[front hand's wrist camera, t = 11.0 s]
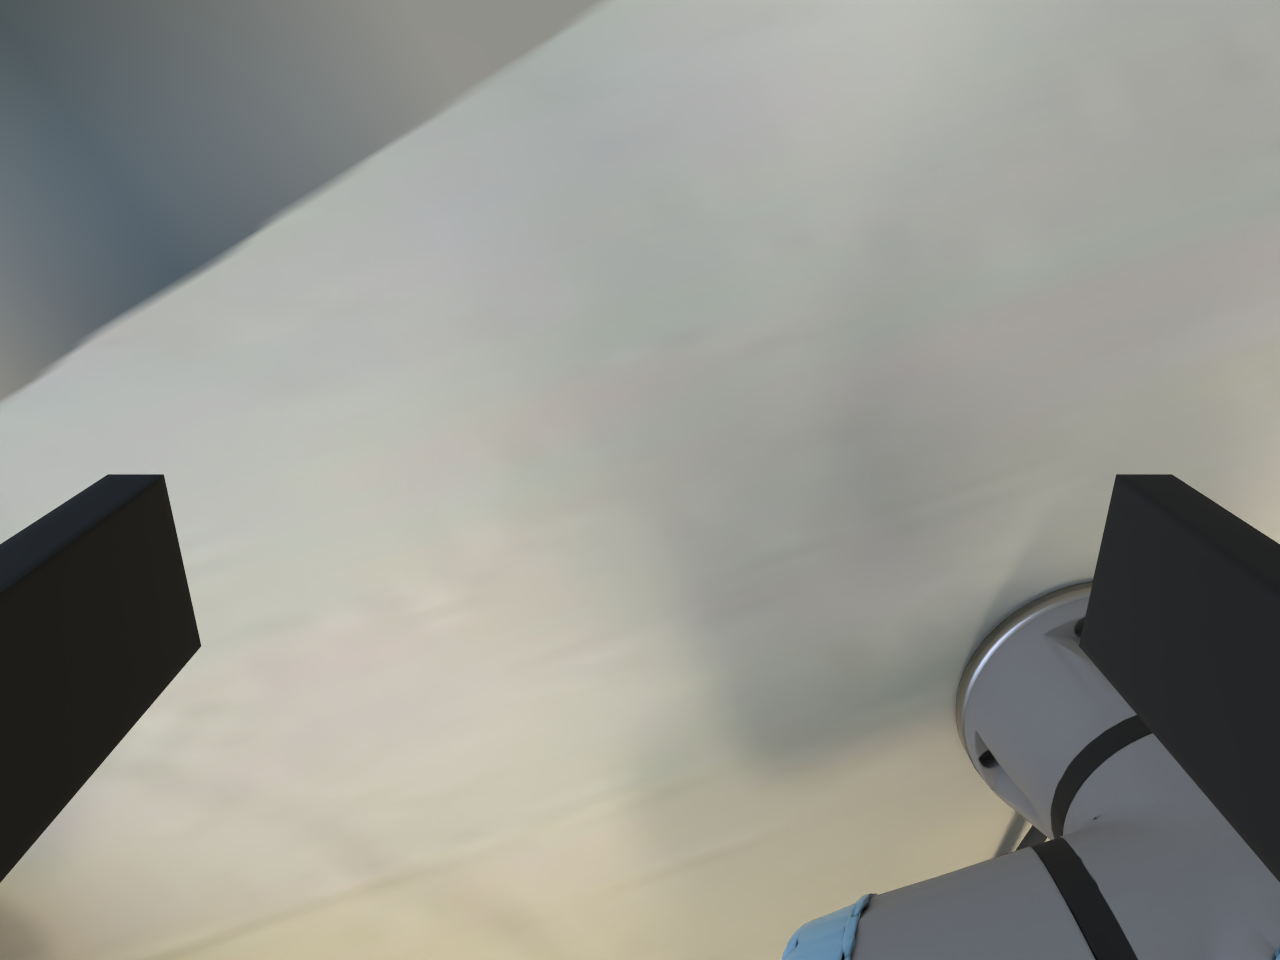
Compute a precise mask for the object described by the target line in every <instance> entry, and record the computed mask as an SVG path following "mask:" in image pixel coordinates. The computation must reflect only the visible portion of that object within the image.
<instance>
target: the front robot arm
mask: <svg viewBox="0 0 1280 960" xmlns="http://www.w3.org/2000/svg"><path fill="white" fill-rule="evenodd" d="M200 647H201V643H200V638H199V634H198V629H197V625H196V620H195V615H194V611H193V606H192V602H191V597H190V593H189V588H188V584H187V579H186V574H185V570H184V565H183V561H182V556H181V552H180V547H179V542H178V538H177V533H176V529H175V524H174V520H173V515H172V510H171V506H170V501H169V497H168V492H167V488H166V483H165V478H164V475H107V476H105V477H104V478H102V479H100V480H99V481H97V482H96V483H94V484H93V485H91V486H90V487H88V488H87V489H85V490H84V491H82V492H80V493H79V494H77V495H76V496H74V497H73V498H71V499H70V500H68V501H67V502H65V503H64V504H62V505H60V506H59V507H57V508H56V509H54V510H53V511H51V512H50V513H48V514H47V515H45V516H43V517H42V518H40V519H39V520H37V521H36V522H34V523H33V524H31V525H30V526H28V527H27V528H25V529H23V530H22V531H20V532H19V533H17V534H16V535H14V536H13V537H11V538H10V539H8V540H6V541H5V542H3V543H2V544H0V882H1V881H2V880H3V879H4V878H5V876H6V875H7V874H8V873H9V872H10V871H11V869H12V868H13V867H14V866H15V865H16V863H17V862H18V861H19V860H20V859H21V858H22V856H23V855H24V854H25V853H26V852H27V851H28V849H29V848H30V847H31V846H32V845H33V843H34V842H35V841H36V840H37V839H38V838H39V836H40V835H41V834H42V833H43V832H44V831H45V829H46V828H47V827H48V826H49V825H50V823H51V822H52V821H53V820H54V819H55V818H56V816H57V815H58V814H59V813H60V812H61V811H62V809H63V808H64V807H65V806H66V805H67V803H68V802H69V801H70V800H71V799H72V798H73V796H74V795H75V794H76V793H77V792H78V791H79V789H80V788H81V787H82V786H83V785H84V783H85V782H86V781H87V780H88V779H89V778H90V776H91V775H92V774H93V773H94V772H95V770H96V769H97V768H98V767H99V766H100V765H101V763H102V762H103V761H104V760H105V759H106V758H107V756H108V755H109V754H110V753H111V752H112V750H113V749H114V748H115V747H116V746H117V745H118V743H119V742H120V741H121V740H122V739H123V738H124V736H125V735H126V734H127V733H128V732H129V730H130V729H131V728H132V727H133V726H134V725H135V723H136V722H137V721H138V720H139V719H140V718H141V716H142V715H143V714H144V713H145V712H146V710H147V709H148V708H149V707H150V706H151V705H152V703H153V702H154V701H155V700H156V699H157V698H158V696H159V695H160V694H161V693H162V692H163V690H164V689H165V688H166V687H167V686H168V685H169V683H170V682H171V681H172V680H173V679H174V677H175V676H176V675H177V674H178V673H179V672H180V670H181V669H182V668H183V667H184V666H185V665H186V663H187V662H188V661H189V660H190V659H191V657H192V656H193V655H194V654H195V653H196V652H197V650H198V649H199V648H200ZM956 722H957V728H958V732H959V736H960V739H961V741H962V744H963V746H964V748H965V750H966V752H967V754H968V756H969V758H970V760H971V761H972V763H973V765H974V767H975V769H976V770H977V772H978V773H979V774H980V776H981V777H982V778H983V779H984V781H985V782H986V783H987V784H988V786H989V787H990V788H991V789H992V790H993V791H994V792H995V793H996V795H998V796H999V797H1000V798H1001V799H1002V800H1003V801H1005V802H1006V803H1007V804H1008V805H1009V806H1011V807H1012V808H1013V809H1014V810H1015V811H1017V812H1018V813H1019V814H1020V815H1021V816H1023V817H1024V818H1025V819H1026V820H1027V821H1029V822H1030V823H1031V824H1032V827H1031V828H1030V830H1029V831H1028V833H1027V834H1026V836H1025V837H1024V839H1023V840H1022V842H1021V843H1020V845H1019V846H1018V848H1017V849H1016V851H1014V852H1011V853H1008V854H1005V855H1002V856H999V857H996V858H993V859H990V860H987V861H984V862H981V863H978V864H975V865H972V866H969V867H966V868H963V869H960V870H957V871H954V872H951V873H947V874H944V875H941V876H938V877H935V878H932V879H929V880H925V881H922V882H919V883H916V884H912V885H909V886H906V887H903V888H899V889H896V890H893V891H890V892H886V893H883V894H880V895H877V894H868V895H864V896H863V897H862V898H860V899H859V900H858V901H857V902H856V903H855V904H853V905H850V906H848V907H846V908H843V909H841V910H838V911H836V912H833V913H831V914H828V915H826V916H823V917H820V918H818V919H815V920H812V921H810V922H808V923H806V924H804V925H803V926H802V927H800V928H799V929H798V930H797V931H796V932H795V933H794V934H793V936H792V937H791V939H790V940H789V942H788V944H787V947H786V949H785V951H784V954H783V958H782V960H1280V544H1278V543H1277V542H1275V541H1274V540H1272V539H1270V538H1269V537H1267V536H1266V535H1264V534H1263V533H1261V532H1260V531H1258V530H1257V529H1255V528H1253V527H1252V526H1250V525H1249V524H1247V523H1246V522H1244V521H1243V520H1241V519H1240V518H1238V517H1237V516H1235V515H1233V514H1232V513H1230V512H1229V511H1227V510H1226V509H1224V508H1223V507H1221V506H1220V505H1218V504H1216V503H1215V502H1213V501H1212V500H1210V499H1209V498H1207V497H1206V496H1204V495H1203V494H1201V493H1200V492H1198V491H1196V490H1195V489H1193V488H1192V487H1190V486H1189V485H1187V484H1186V483H1184V482H1183V481H1181V480H1180V479H1178V478H1176V477H1175V476H1173V475H1116V478H1115V483H1114V488H1113V492H1112V497H1111V501H1110V506H1109V510H1108V515H1107V520H1106V524H1105V529H1104V533H1103V538H1102V542H1101V547H1100V552H1099V556H1098V561H1097V565H1096V570H1095V574H1094V579H1093V582H1089V583H1084V584H1079V585H1074V586H1071V587H1067V588H1064V589H1061V590H1058V591H1055V592H1052V593H1050V594H1047V595H1045V596H1043V597H1041V598H1039V599H1037V600H1035V601H1033V602H1031V603H1029V604H1027V605H1026V606H1024V607H1022V608H1021V609H1019V610H1018V611H1016V612H1015V613H1013V614H1012V615H1011V616H1009V617H1008V618H1007V619H1006V620H1004V621H1003V622H1002V623H1001V624H1000V625H999V626H998V627H996V628H995V629H994V630H993V631H992V632H991V633H990V634H989V636H988V637H987V638H986V639H985V640H984V641H983V642H982V644H981V645H980V646H979V648H978V649H977V650H976V652H975V653H974V655H973V657H972V658H971V660H970V661H969V663H968V665H967V667H966V669H965V672H964V674H963V677H962V679H961V682H960V685H959V690H958V694H957V701H956ZM1047 837H1048V838H1049V839H1050V841H1047V842H1045V840H1046V839H1047Z"/></svg>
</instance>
